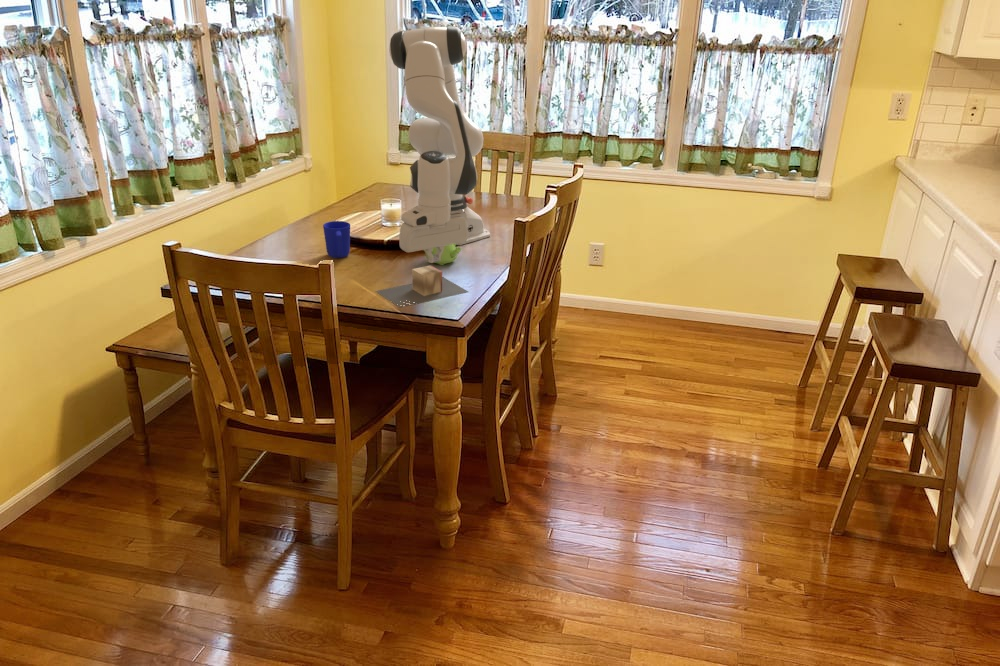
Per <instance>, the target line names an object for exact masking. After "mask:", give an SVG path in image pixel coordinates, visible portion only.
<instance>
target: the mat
mask: <svg viewBox="0 0 1000 666" xmlns="http://www.w3.org/2000/svg"><path fill="white" fill-rule="evenodd" d="M375 293H377V294H379V295H380V296H382V297H383V298H384V297H385V299H386V300H388V301H389V302H390V301H392V302H391V303H392V304H394V303H395V304H394V305H395V306H396V307H397V308H399V309H401V308H404V307H403V305H405V306H406V307H410V306H409V304H406V303H410V304H414V305H418V304H422V303H426V302H431V301H435V300H440V299H444V298H448V297H453V296H456V295H461V294H462V295H463V294H466V293H469V291H468V290H467V289H465V288H463V287H461V286H459V284H458V285H457V284H456V283H454V282H453V281H451V280H449V279H447V278H446V277H444V276H442V292H439V293H434V294H430V295H426V296H423V295H421V294H420V293H418V292H416V291H415V290H413V282H411V283H407V284H403V285H397V286H394V287H388V288H383V289H379V290H375ZM406 300H407V301H406ZM400 301H401V302H400ZM409 301H410V302H409ZM403 302H405V303H403ZM413 302H415V303H413ZM416 303H417V304H416ZM397 304H398V305H397ZM400 305H402V306H400Z"/></svg>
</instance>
